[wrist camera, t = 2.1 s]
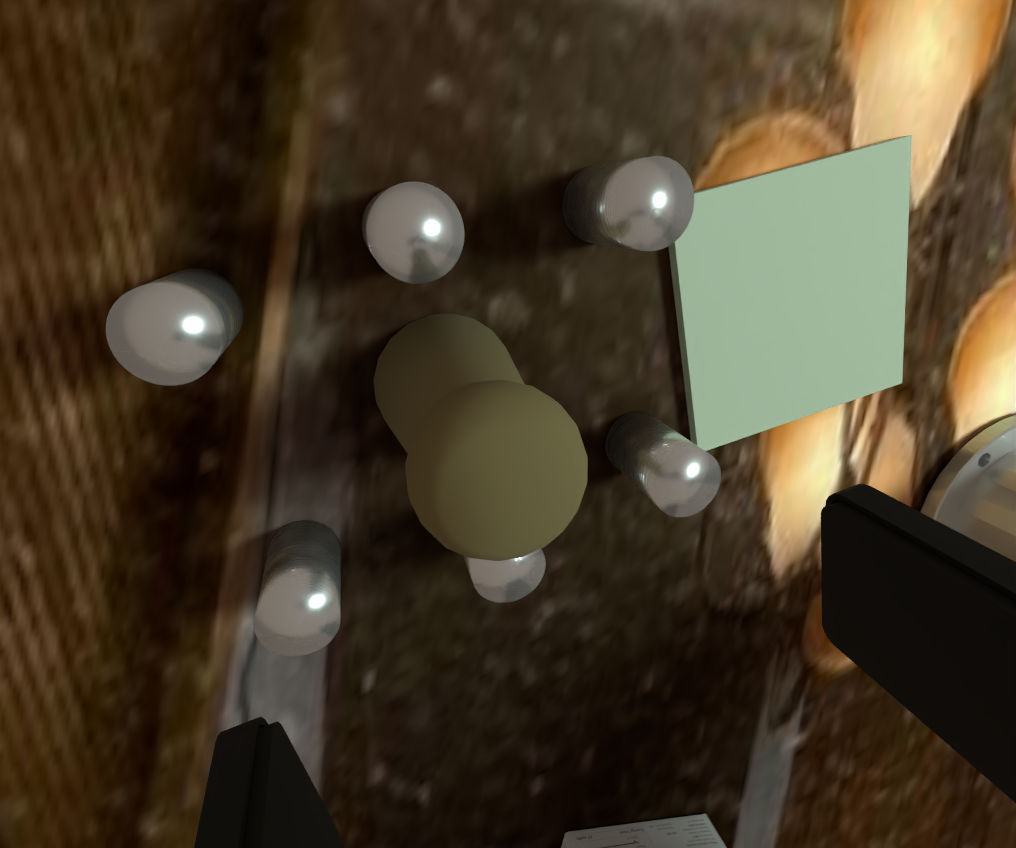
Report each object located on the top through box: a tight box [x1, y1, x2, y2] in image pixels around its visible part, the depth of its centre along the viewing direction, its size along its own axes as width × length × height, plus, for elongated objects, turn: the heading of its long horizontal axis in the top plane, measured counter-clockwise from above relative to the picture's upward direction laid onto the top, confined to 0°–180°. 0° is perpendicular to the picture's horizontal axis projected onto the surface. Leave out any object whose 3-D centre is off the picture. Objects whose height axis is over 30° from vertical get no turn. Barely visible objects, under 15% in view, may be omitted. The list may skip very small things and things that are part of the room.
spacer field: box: [106, 156, 721, 656], centre depth 23 cm, size 19×16×5 cm
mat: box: [668, 135, 912, 451], centre depth 28 cm, size 12×12×1 cm
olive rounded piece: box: [374, 313, 588, 561], centre depth 20 cm, size 6×6×11 cm
